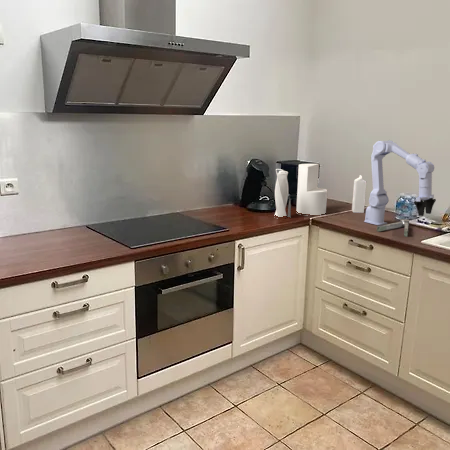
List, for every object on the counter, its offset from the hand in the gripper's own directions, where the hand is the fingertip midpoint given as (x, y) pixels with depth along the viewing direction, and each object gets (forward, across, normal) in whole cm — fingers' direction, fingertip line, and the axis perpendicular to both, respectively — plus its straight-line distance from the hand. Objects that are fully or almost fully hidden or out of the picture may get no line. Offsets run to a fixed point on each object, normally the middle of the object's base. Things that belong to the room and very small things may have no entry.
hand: (424, 214), depth 226 cm
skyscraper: (+3, -29, +69) cm, 75 cm away
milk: (+4, +19, +50) cm, 54 cm away
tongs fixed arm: (+9, -1, +10) cm, 13 cm away
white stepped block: (+3, -5, +66) cm, 67 cm away
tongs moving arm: (+8, -3, +15) cm, 18 cm away
